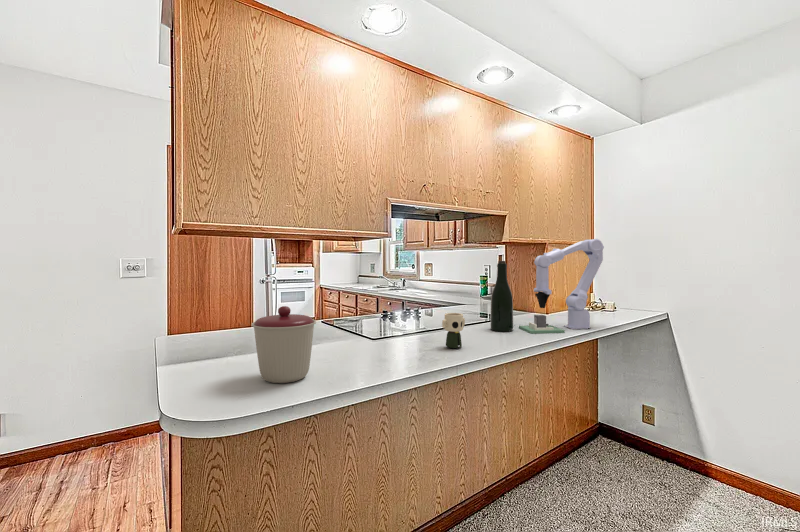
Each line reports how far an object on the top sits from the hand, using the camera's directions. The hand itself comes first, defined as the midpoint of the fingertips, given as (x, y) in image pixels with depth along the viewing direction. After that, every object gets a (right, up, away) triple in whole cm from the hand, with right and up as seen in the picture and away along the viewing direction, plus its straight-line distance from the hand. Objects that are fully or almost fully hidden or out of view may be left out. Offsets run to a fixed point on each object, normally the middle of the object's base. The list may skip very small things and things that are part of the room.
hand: (542, 307), depth 200 cm
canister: (-103, -13, -80) cm, 131 cm away
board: (-3, -10, -6) cm, 12 cm away
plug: (-4, -9, -9) cm, 13 cm away
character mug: (-49, -11, -41) cm, 65 cm away
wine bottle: (-21, -10, -5) cm, 24 cm away
